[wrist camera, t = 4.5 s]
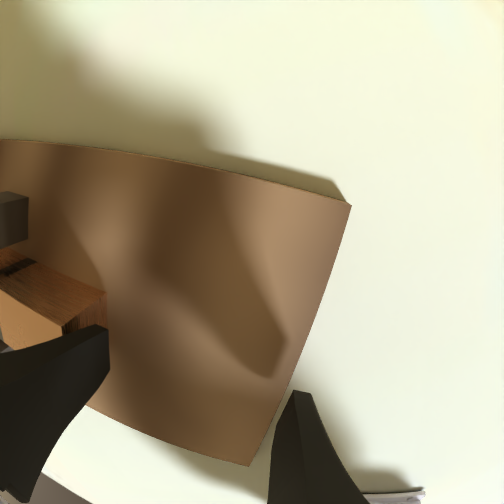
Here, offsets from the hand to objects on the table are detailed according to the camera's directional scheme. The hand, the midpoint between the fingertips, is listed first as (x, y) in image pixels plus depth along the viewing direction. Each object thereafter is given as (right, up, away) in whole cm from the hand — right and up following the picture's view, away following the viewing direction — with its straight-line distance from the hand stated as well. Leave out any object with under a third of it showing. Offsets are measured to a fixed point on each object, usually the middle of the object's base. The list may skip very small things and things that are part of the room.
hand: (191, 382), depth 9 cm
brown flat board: (-8, +3, +3) cm, 9 cm away
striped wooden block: (-9, +3, +2) cm, 10 cm away
